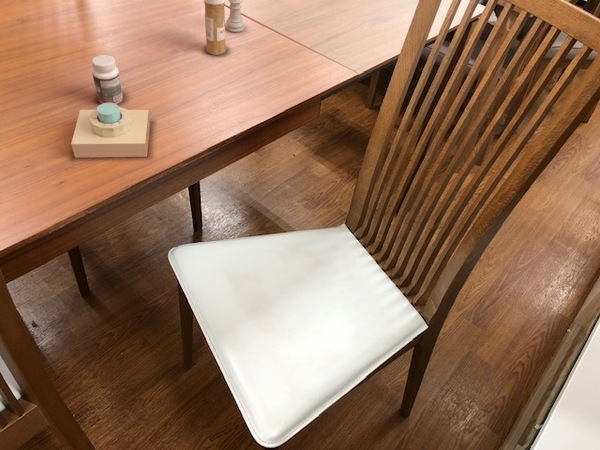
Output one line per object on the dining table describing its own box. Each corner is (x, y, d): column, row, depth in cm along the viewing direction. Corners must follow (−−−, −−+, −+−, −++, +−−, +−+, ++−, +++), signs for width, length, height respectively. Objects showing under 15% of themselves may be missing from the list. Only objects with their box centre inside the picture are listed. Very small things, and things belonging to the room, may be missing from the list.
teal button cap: (97, 124, 86) (95, 114, 85) (100, 112, 89) (98, 102, 87) (119, 124, 87) (117, 114, 86) (121, 112, 89) (119, 102, 88)
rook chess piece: (227, 33, 123) (227, 0, 117) (224, 24, 126) (224, -8, 120) (245, 32, 124) (246, 0, 118) (242, 24, 127) (243, -8, 121)
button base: (74, 157, 87) (68, 134, 83) (83, 123, 94) (77, 100, 90) (147, 156, 89) (143, 133, 85) (150, 123, 96) (147, 100, 92)
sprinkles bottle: (227, 55, 116) (226, -5, 106) (207, 56, 114) (205, -4, 105) (224, 45, 119) (223, -14, 109) (204, 46, 117) (201, -14, 108)
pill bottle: (97, 93, 101) (88, 54, 94) (122, 91, 102) (115, 52, 96) (98, 106, 98) (89, 67, 91) (124, 104, 99) (117, 65, 93)
